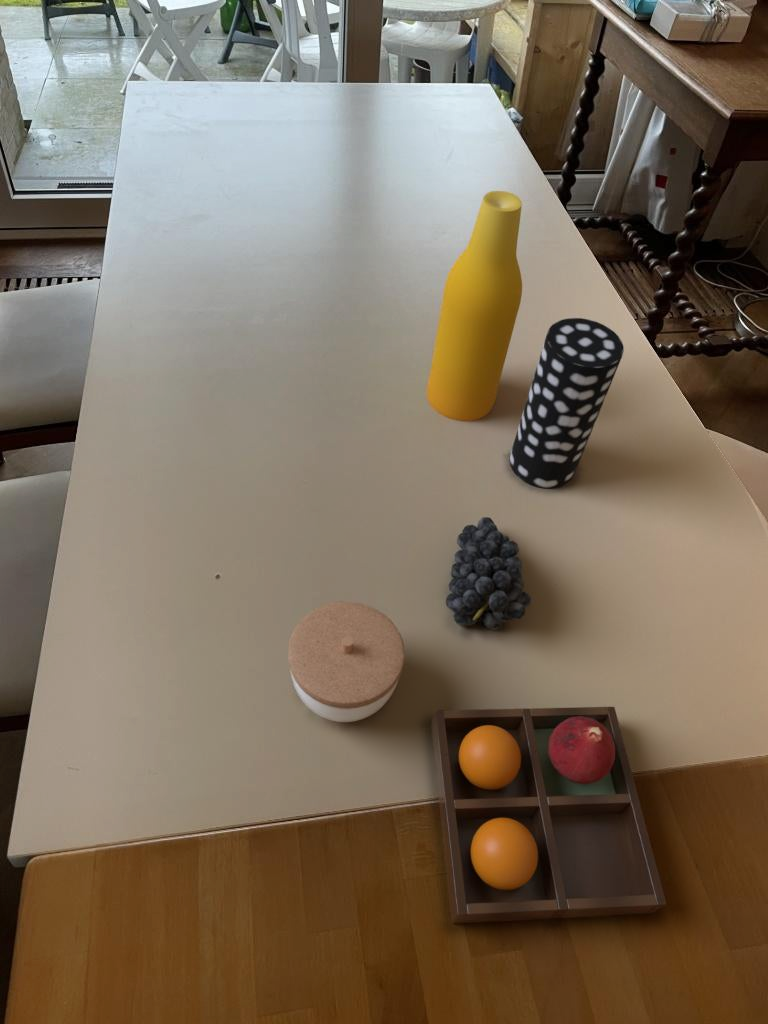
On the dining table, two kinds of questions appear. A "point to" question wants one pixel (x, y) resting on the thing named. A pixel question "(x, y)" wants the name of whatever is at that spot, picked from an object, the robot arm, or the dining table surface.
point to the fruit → (486, 578)
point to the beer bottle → (478, 314)
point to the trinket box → (345, 660)
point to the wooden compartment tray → (546, 824)
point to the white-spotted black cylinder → (564, 401)
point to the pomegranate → (581, 750)
